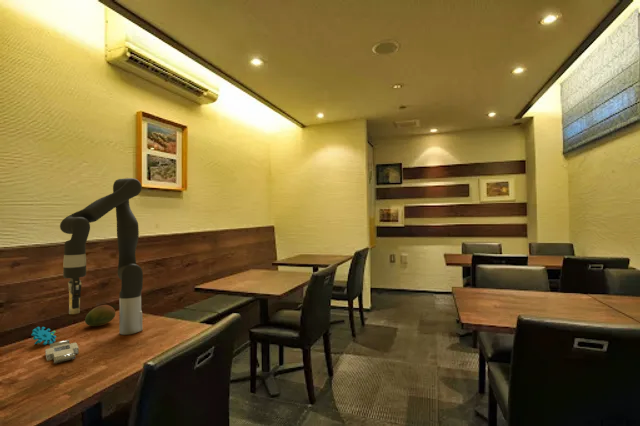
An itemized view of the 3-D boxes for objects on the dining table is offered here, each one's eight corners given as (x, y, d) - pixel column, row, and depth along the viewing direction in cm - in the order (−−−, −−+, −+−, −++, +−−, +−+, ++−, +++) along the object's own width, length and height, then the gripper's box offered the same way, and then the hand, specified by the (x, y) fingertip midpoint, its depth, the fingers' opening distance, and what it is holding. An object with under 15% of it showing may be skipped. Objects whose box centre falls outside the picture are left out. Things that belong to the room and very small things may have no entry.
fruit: (119, 322, 172) (119, 303, 172) (98, 330, 159) (98, 310, 160) (101, 320, 174) (101, 302, 174) (79, 328, 162) (79, 308, 162)
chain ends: (73, 343, 143) (73, 337, 143) (81, 358, 127) (81, 351, 127) (44, 349, 136) (44, 343, 136) (48, 367, 120) (48, 359, 120)
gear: (43, 345, 137) (28, 328, 138) (32, 355, 137) (18, 338, 138) (63, 338, 148) (50, 323, 149) (53, 348, 148) (40, 332, 149)
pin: (79, 311, 134) (79, 289, 134) (80, 312, 132) (80, 291, 132) (68, 313, 132) (68, 291, 132) (69, 314, 129) (69, 292, 129)
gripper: (89, 266, 130) (89, 308, 129) (83, 262, 140) (82, 302, 139) (65, 268, 124) (65, 312, 124) (61, 264, 134) (60, 305, 134)
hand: (74, 307), depth 132 cm, fingers closed on pin, 3 cm apart
